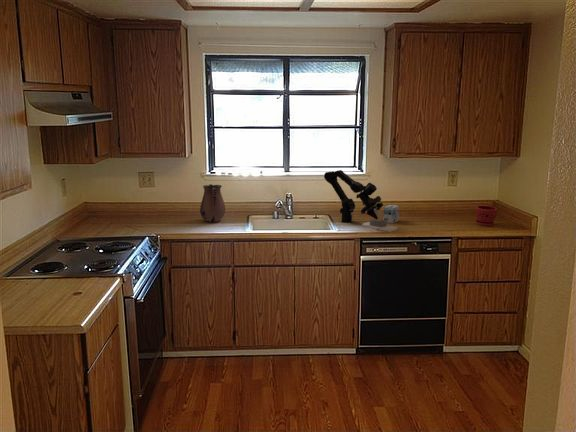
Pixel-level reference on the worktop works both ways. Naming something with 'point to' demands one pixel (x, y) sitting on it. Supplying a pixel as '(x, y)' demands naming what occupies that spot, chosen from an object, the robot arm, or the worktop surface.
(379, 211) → the sanding block
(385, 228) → the marked board
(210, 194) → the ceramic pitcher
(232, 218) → the worktop surface
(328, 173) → the robot arm
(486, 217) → the plant pot
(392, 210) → the light bulb box
